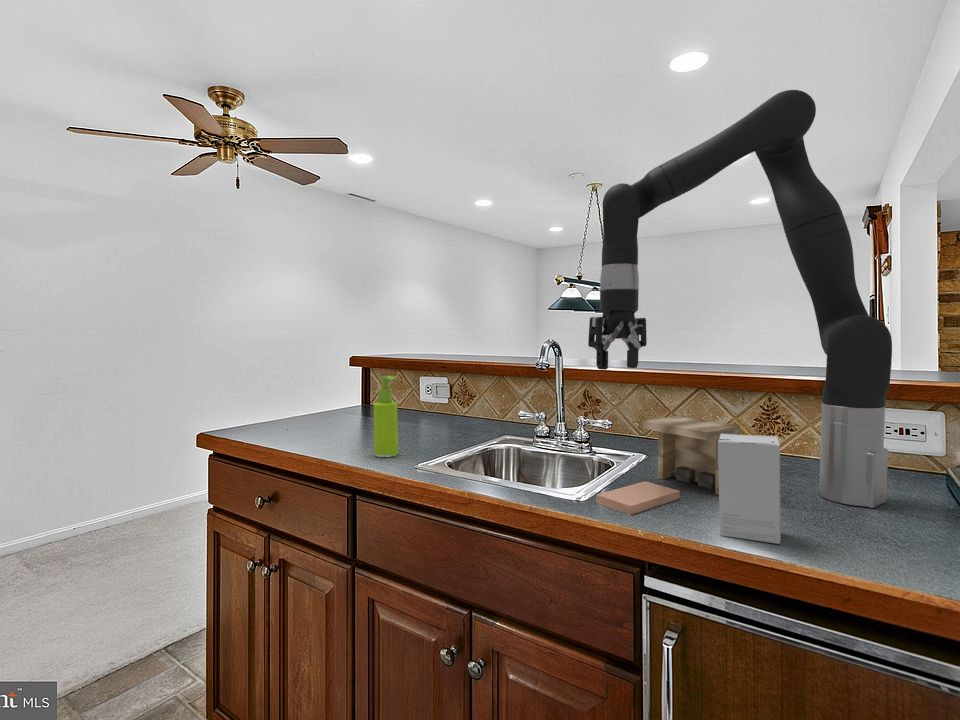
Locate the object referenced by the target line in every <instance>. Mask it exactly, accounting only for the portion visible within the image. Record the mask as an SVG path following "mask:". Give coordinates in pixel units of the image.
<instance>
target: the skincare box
mask: <svg viewBox="0 0 960 720" xmlns="http://www.w3.org/2000/svg"><path fill="white" fill-rule="evenodd" d="M778 437H779V436H777V435H775V436H774V435H754V434H753V435H752V434H751V435H749V434H740V435H735V434H721V435H720V438H719V441H718V467H719V495H718V505H719V506H718V507H719V510H718V511H719V534H720V536H721V537H728V538H736V539H742V540H750V541H757V542H762V543H763V542H764V543H771V544H778V545H780V544H781V541H782V539H781V538H782V536H781V535H782V533H781V443H780V439H779V438H778Z"/></svg>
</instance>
